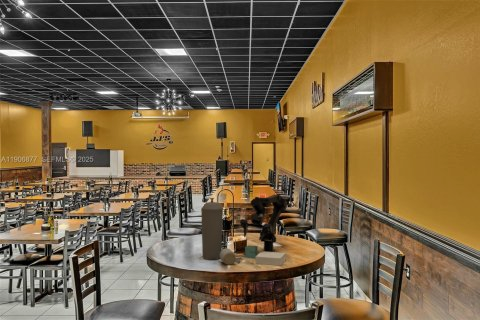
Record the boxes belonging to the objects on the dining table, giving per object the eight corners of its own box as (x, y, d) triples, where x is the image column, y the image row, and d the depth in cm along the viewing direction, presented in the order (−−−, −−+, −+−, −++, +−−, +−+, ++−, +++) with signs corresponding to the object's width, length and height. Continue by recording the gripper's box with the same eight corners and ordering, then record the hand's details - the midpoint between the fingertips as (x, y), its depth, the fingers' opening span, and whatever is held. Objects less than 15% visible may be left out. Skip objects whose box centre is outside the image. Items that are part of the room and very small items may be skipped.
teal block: (248, 255, 258) (248, 245, 258) (257, 256, 256) (257, 246, 256) (245, 257, 252) (245, 247, 252) (254, 258, 250) (254, 248, 250)
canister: (198, 260, 245) (198, 198, 245) (203, 255, 258) (203, 196, 258) (220, 260, 244) (220, 198, 244) (224, 255, 256) (224, 197, 256)
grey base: (262, 258, 250) (262, 251, 250) (285, 259, 245) (285, 252, 245) (255, 263, 236) (255, 256, 236) (280, 265, 232) (280, 258, 232)
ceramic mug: (223, 265, 232) (223, 251, 232) (219, 262, 240) (219, 248, 240) (242, 264, 236) (242, 250, 236) (237, 261, 243) (237, 247, 243)
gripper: (242, 205, 254) (234, 228, 246) (272, 211, 248) (265, 234, 239) (245, 215, 263) (237, 237, 254) (275, 221, 256) (268, 244, 248)
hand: (251, 238), depth 248 cm, fingers open, 9 cm apart
